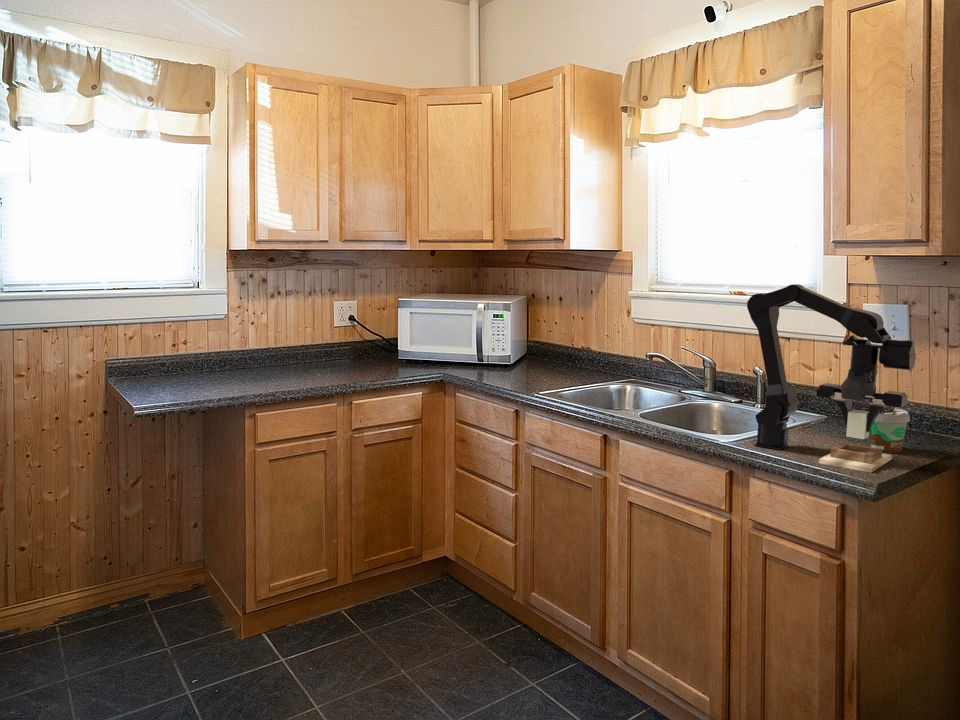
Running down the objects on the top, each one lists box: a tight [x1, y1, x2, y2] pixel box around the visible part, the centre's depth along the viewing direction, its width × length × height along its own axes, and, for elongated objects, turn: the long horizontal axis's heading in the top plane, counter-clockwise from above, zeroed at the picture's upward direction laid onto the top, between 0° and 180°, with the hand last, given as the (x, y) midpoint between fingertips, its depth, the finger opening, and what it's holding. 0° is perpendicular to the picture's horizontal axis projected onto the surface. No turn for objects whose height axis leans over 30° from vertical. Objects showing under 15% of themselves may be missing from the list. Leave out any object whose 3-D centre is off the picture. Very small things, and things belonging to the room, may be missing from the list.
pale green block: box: [845, 409, 870, 440], centre depth 186 cm, size 4×4×6 cm
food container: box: [870, 407, 911, 454], centre depth 197 cm, size 12×6×10 cm, turn 126°
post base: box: [818, 442, 893, 474], centre depth 187 cm, size 12×17×3 cm
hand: (857, 430), depth 186 cm, fingers closed on pale green block, 4 cm apart
